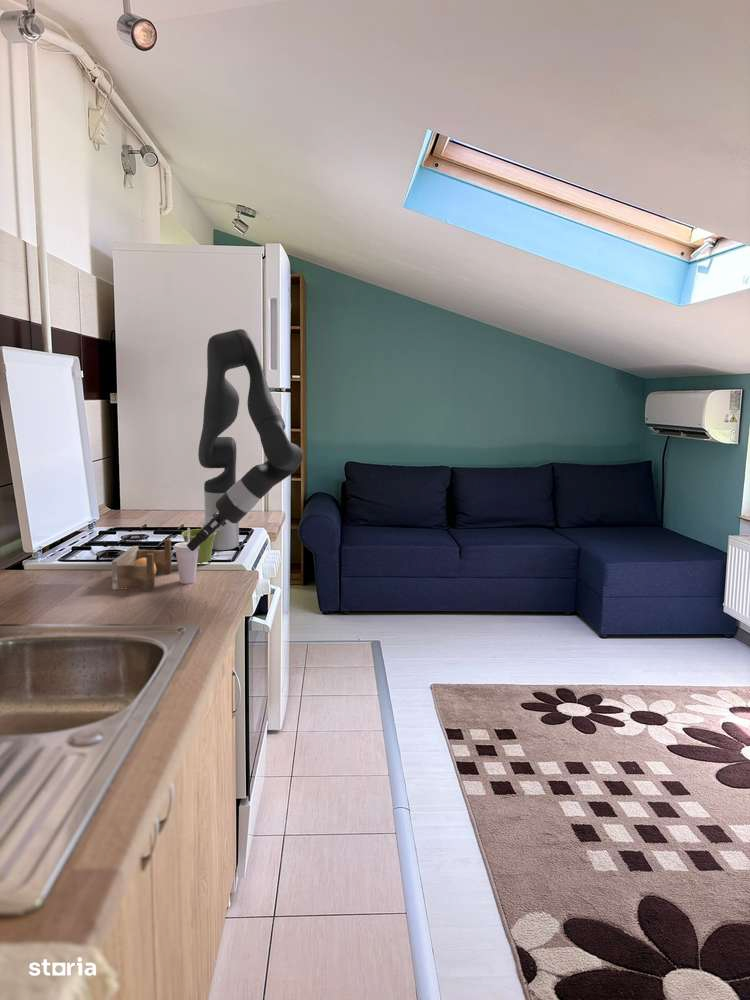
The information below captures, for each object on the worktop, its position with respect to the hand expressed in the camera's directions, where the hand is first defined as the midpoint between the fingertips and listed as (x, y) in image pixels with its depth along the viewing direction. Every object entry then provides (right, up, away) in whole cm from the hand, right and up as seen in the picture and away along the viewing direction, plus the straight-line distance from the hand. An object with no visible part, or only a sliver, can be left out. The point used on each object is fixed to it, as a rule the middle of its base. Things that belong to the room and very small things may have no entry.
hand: (193, 544), depth 205 cm
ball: (-13, -6, +1) cm, 15 cm away
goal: (-13, -9, +2) cm, 16 cm away
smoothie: (-2, -10, +2) cm, 10 cm away
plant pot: (-3, -7, +21) cm, 22 cm away
